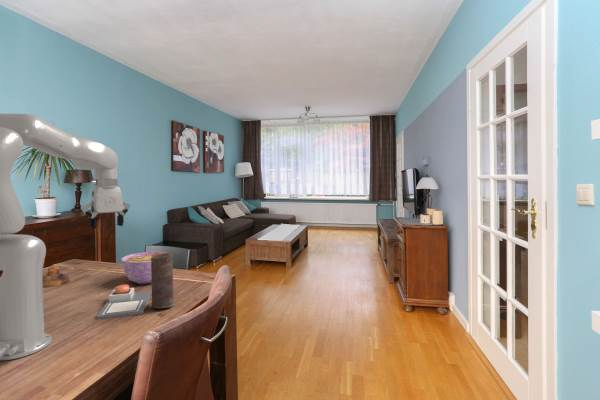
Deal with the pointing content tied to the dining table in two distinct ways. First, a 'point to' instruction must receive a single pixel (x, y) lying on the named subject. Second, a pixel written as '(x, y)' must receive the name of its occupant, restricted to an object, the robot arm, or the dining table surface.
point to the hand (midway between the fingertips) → (107, 227)
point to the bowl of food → (139, 267)
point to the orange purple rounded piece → (54, 278)
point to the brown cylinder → (162, 280)
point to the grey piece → (124, 304)
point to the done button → (121, 289)
